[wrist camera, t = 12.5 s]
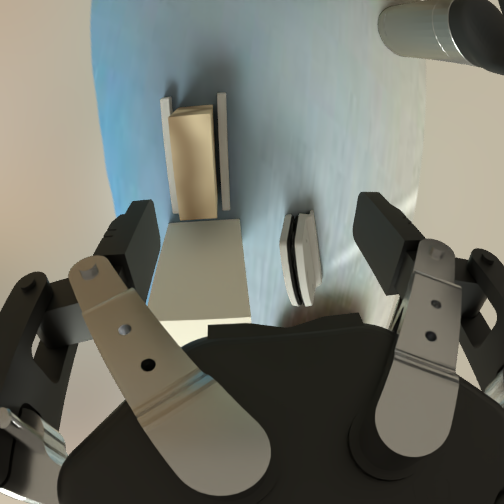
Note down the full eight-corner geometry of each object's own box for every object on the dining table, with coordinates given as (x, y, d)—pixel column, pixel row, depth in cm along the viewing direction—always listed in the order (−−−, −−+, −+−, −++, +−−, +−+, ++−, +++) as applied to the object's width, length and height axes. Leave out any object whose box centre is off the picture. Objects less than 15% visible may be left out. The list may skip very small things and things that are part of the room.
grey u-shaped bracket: (236, 91, 38) (248, 114, 20) (240, 243, 53) (251, 344, 35) (153, 98, 37) (94, 130, 20) (173, 247, 52) (154, 347, 35)
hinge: (322, 279, 60) (317, 317, 53) (299, 279, 62) (292, 317, 54) (313, 207, 50) (307, 243, 43) (286, 209, 52) (275, 244, 45)
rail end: (212, 104, 39) (210, 113, 32) (217, 194, 48) (217, 221, 40) (178, 107, 39) (168, 117, 32) (187, 196, 47) (180, 224, 40)
